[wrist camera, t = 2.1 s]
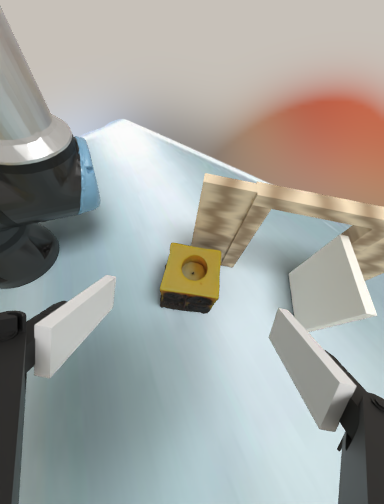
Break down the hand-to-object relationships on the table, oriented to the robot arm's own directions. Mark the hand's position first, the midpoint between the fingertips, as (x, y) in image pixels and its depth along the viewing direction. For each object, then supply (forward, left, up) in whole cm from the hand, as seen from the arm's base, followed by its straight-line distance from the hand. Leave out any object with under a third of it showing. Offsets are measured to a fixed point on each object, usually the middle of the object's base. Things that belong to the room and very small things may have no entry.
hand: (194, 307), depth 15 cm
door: (+14, +24, -24) cm, 37 cm away
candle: (-6, +9, -25) cm, 27 cm away
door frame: (+5, +27, -25) cm, 37 cm away
